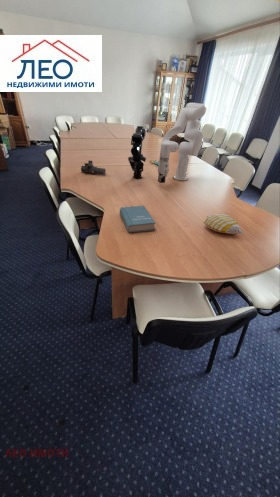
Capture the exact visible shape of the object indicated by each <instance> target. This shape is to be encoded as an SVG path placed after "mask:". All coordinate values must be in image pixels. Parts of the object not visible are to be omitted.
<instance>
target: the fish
mask: <svg viewBox="0 0 280 497" xmlns="http://www.w3.org/2000/svg"><path fill="white" fill-rule="evenodd" d="M203 223H204V225H205V226H206V227H207V228H208V229H210V230H212V231H214V232H217V233H222V234H227V235H237V234H239V235H244V234H245V233H244V232H243V231H242V229H241V227H240V225H239V224H238V222H237V219H236V218H235V217H232V216H230V215H229V214H228V213H216V214H210V215H207V216H206V218H205V219H204V220H203Z"/></svg>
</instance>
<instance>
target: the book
mask: <svg viewBox="0 0 280 497" xmlns="http://www.w3.org/2000/svg"><path fill="white" fill-rule="evenodd" d="M119 214H120V217H121V219H122V221H123V223H124V226H125V227H126V230H127V232H128V233H141V232H151V231H155V230H156V229H155V224H156V221H155V220H154V218H153V217H152V215H151V214H150V212H149V211H148V209H147V207H146V206H145V205H135V206H134V205H133V206H124V207H123V206H122V207H120V208H119Z"/></svg>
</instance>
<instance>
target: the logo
mask: <svg viewBox="0 0 280 497" xmlns="http://www.w3.org/2000/svg"><path fill="white" fill-rule="evenodd" d="M150 163H151V164H154V165H157V166H158V165H159V160H150ZM168 171H169V169H168Z"/></svg>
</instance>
